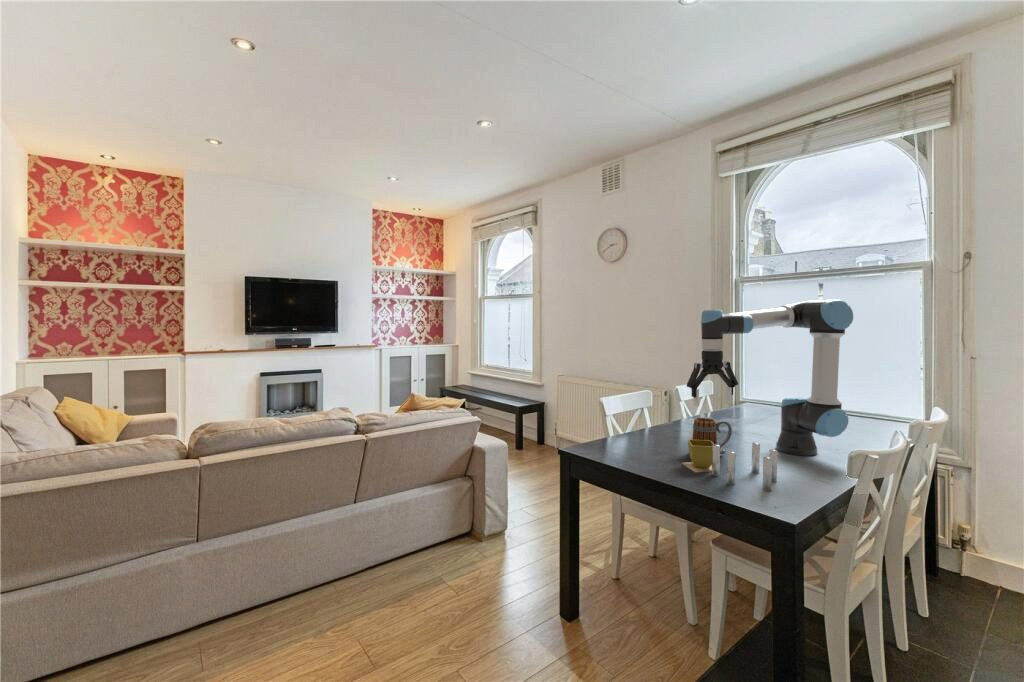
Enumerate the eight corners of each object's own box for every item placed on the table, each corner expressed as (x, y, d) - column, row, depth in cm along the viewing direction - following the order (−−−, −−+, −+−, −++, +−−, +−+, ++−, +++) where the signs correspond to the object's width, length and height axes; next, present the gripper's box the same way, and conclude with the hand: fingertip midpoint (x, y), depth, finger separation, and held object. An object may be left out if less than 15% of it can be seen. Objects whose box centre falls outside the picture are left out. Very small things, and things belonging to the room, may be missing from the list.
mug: (692, 457, 188) (693, 421, 187) (689, 450, 198) (689, 416, 197) (733, 460, 184) (734, 423, 183) (728, 452, 194) (728, 418, 194)
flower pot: (716, 470, 170) (716, 446, 170) (691, 468, 172) (691, 445, 172) (710, 463, 179) (711, 440, 179) (687, 461, 181) (687, 439, 180)
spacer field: (756, 471, 171) (756, 442, 170) (794, 489, 152) (795, 457, 152) (710, 473, 168) (711, 444, 168) (744, 493, 149) (744, 460, 149)
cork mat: (705, 462, 181) (705, 461, 181) (720, 471, 171) (720, 469, 171) (681, 464, 180) (681, 462, 180) (695, 472, 170) (695, 470, 170)
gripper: (735, 348, 181) (735, 401, 182) (677, 350, 177) (677, 404, 178) (748, 349, 173) (748, 404, 174) (687, 352, 170) (687, 408, 171)
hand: (712, 404), depth 176 cm, fingers open, 13 cm apart
